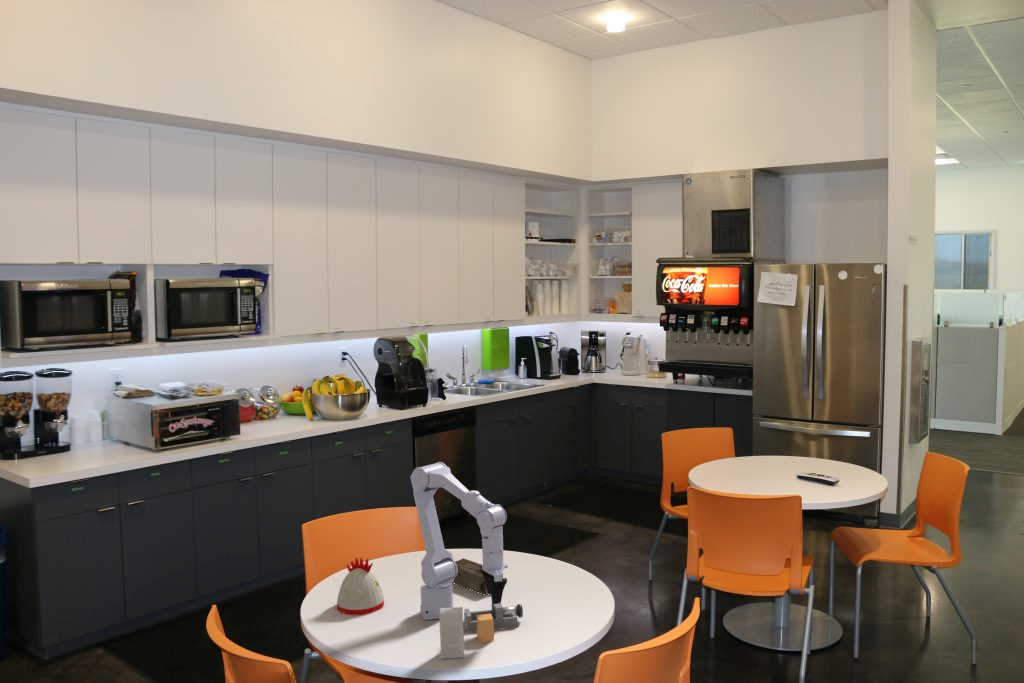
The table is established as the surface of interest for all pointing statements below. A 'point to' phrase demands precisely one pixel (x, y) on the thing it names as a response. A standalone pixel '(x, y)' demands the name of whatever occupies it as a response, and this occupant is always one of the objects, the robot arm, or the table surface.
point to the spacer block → (485, 627)
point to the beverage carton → (470, 576)
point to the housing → (496, 613)
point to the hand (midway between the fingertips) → (494, 598)
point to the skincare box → (451, 632)
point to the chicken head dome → (360, 590)
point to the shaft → (513, 611)
